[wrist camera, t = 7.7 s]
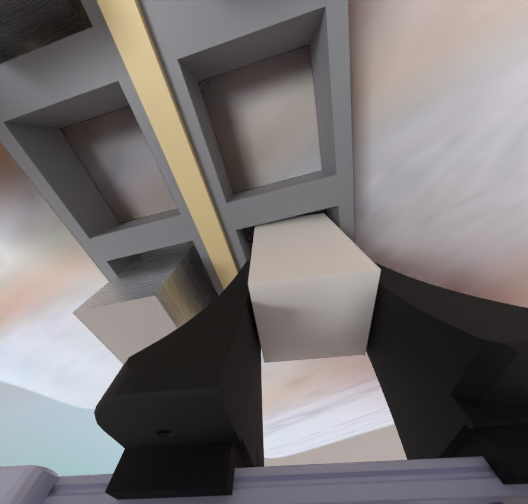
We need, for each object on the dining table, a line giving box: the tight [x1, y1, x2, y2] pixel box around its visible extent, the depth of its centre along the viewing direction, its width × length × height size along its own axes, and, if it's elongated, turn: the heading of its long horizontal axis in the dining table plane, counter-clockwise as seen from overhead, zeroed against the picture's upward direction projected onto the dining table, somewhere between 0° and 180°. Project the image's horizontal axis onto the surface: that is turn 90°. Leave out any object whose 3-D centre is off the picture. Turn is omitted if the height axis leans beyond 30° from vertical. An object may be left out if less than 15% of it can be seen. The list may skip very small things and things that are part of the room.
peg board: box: [0, 0, 355, 300], centre depth 9 cm, size 15×22×3 cm
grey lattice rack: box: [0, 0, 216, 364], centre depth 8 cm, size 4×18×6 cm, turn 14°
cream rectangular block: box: [248, 213, 381, 363], centre depth 9 cm, size 4×4×6 cm
